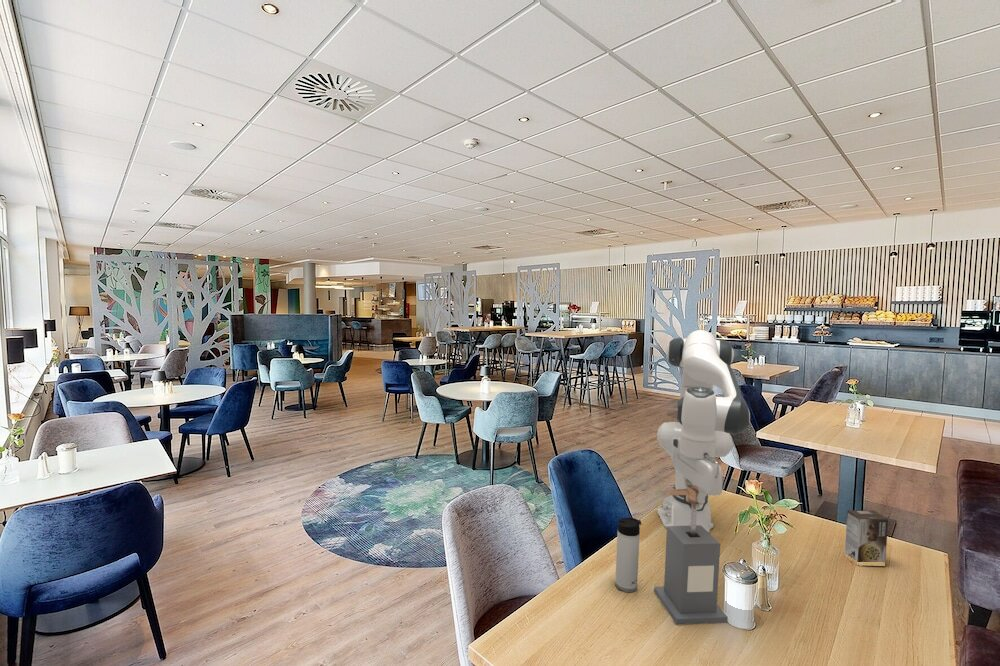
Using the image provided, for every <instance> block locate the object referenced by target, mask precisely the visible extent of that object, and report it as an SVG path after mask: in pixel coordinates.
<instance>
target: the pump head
mask: <svg viewBox="0 0 1000 666" xmlns="http://www.w3.org/2000/svg"><path fill="white" fill-rule="evenodd" d="M698 493H699V491H698V487H697V486H696V485H688V486H687V487H686V489H674V488H668V489H667V495H668V496H670V495H686V501H687V502H689V503H691V504H692V506H691V525H690V537H695V536H696V517H697V505H701V504H700V503H698V502H697V501H696V495H698Z"/></svg>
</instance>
